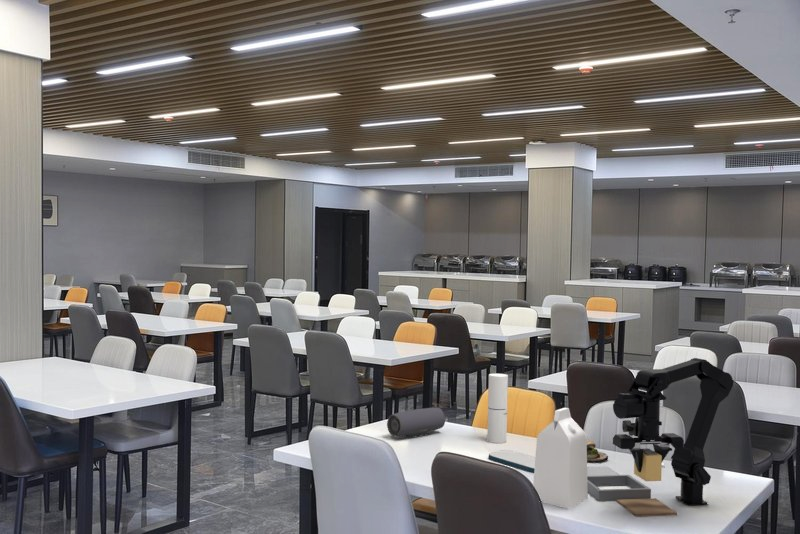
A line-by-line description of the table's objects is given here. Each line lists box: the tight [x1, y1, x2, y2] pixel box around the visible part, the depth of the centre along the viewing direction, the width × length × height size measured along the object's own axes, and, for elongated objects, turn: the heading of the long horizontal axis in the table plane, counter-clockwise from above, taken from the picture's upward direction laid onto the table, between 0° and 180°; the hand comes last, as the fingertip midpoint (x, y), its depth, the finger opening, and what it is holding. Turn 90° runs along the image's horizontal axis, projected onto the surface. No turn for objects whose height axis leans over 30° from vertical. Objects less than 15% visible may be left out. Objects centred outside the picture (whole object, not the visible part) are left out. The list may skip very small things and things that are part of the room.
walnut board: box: [616, 497, 678, 517], centre depth 207 cm, size 12×12×1 cm
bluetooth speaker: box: [386, 407, 446, 438], centre depth 285 cm, size 23×9×10 cm, turn 130°
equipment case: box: [587, 465, 652, 502], centre depth 227 cm, size 28×16×3 cm, turn 9°
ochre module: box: [633, 448, 663, 482], centre depth 206 cm, size 7×4×7 cm, turn 9°
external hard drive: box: [488, 449, 536, 474], centre depth 249 cm, size 24×12×2 cm, turn 40°
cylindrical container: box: [486, 373, 509, 444], centre depth 278 cm, size 7×7×25 cm
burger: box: [587, 440, 609, 462], centre depth 257 cm, size 12×12×8 cm
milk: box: [532, 407, 589, 510], centre depth 213 cm, size 12×12×26 cm
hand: (647, 471), depth 206 cm, fingers closed on ochre module, 4 cm apart
